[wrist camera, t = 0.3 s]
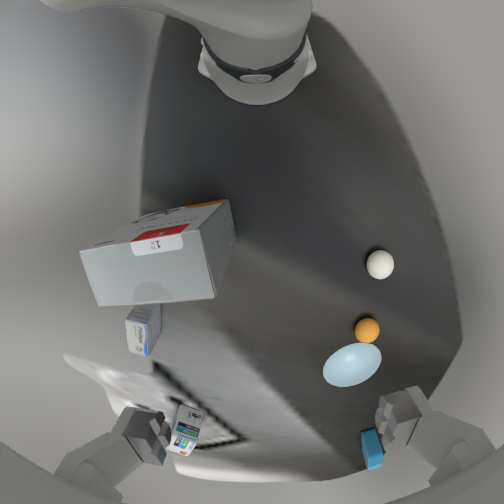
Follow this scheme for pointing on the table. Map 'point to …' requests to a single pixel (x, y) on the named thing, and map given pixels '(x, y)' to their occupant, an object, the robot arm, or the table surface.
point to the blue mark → (352, 364)
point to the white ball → (380, 264)
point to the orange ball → (367, 330)
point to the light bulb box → (185, 430)
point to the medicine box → (143, 328)
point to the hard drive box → (163, 256)
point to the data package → (371, 449)
